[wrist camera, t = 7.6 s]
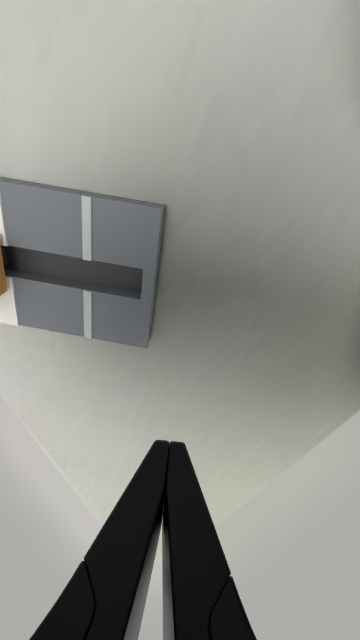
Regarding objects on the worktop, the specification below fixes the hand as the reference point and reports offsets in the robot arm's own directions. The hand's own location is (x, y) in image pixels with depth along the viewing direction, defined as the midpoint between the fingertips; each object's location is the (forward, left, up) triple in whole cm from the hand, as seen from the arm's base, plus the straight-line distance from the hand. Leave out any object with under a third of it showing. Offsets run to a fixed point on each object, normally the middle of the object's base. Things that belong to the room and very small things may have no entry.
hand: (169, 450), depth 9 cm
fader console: (+7, +5, -12) cm, 15 cm away
